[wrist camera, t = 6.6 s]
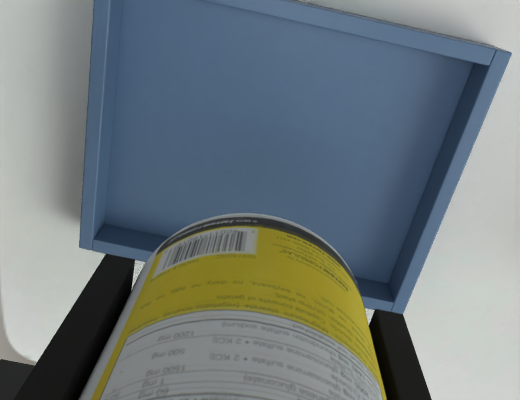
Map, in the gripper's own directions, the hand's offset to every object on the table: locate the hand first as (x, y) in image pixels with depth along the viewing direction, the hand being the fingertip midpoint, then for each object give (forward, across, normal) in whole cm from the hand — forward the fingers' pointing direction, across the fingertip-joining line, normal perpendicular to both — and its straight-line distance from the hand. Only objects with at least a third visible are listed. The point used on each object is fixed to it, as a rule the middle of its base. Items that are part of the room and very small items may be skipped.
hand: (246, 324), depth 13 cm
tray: (+16, 0, 0) cm, 16 cm away
